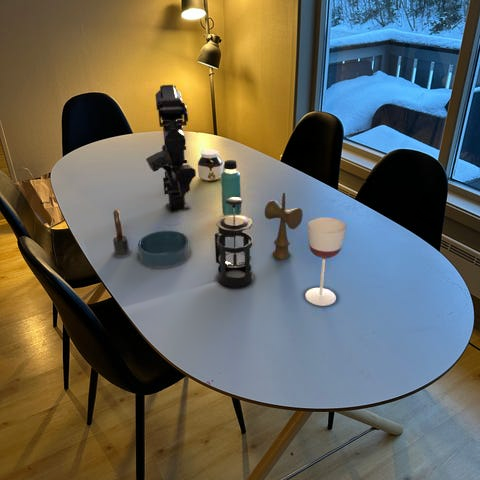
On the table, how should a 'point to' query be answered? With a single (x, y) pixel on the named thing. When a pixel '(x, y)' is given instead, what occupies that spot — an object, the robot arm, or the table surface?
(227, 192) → the beverage bottle
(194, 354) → the table surface
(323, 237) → the wineglass
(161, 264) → the dish
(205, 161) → the spread jar
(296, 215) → the kendama
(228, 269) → the french press
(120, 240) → the peg on round base
